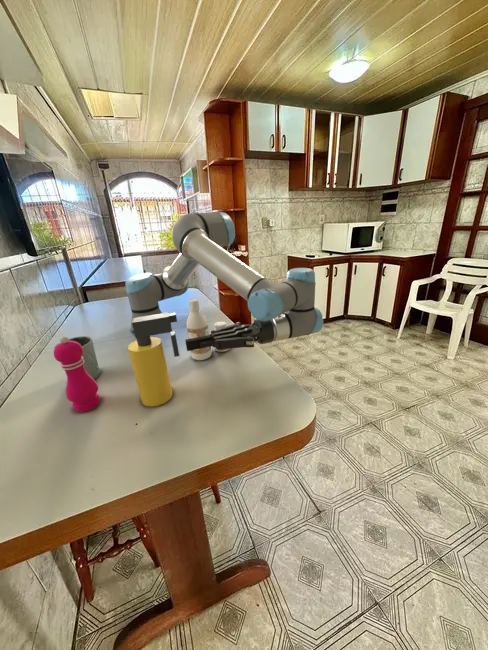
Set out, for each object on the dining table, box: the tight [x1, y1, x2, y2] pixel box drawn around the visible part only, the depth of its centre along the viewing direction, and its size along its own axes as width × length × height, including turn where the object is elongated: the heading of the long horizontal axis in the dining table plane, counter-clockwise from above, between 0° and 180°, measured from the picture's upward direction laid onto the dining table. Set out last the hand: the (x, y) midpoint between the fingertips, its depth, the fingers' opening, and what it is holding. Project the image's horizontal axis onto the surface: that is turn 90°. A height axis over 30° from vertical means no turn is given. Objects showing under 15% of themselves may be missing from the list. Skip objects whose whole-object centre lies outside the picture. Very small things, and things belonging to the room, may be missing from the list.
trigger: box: [169, 330, 180, 358], centre depth 68 cm, size 3×1×6 cm, turn 17°
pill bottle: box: [214, 321, 230, 353], centre depth 94 cm, size 5×5×10 cm
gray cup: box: [53, 335, 101, 380], centre depth 82 cm, size 10×10×12 cm
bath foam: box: [186, 298, 213, 361], centre depth 88 cm, size 7×7×20 cm
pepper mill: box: [53, 335, 101, 413], centre depth 67 cm, size 7×7×20 cm
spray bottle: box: [127, 311, 178, 407], centre depth 68 cm, size 8×13×22 cm, turn 107°
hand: (186, 345), depth 69 cm, fingers closed
